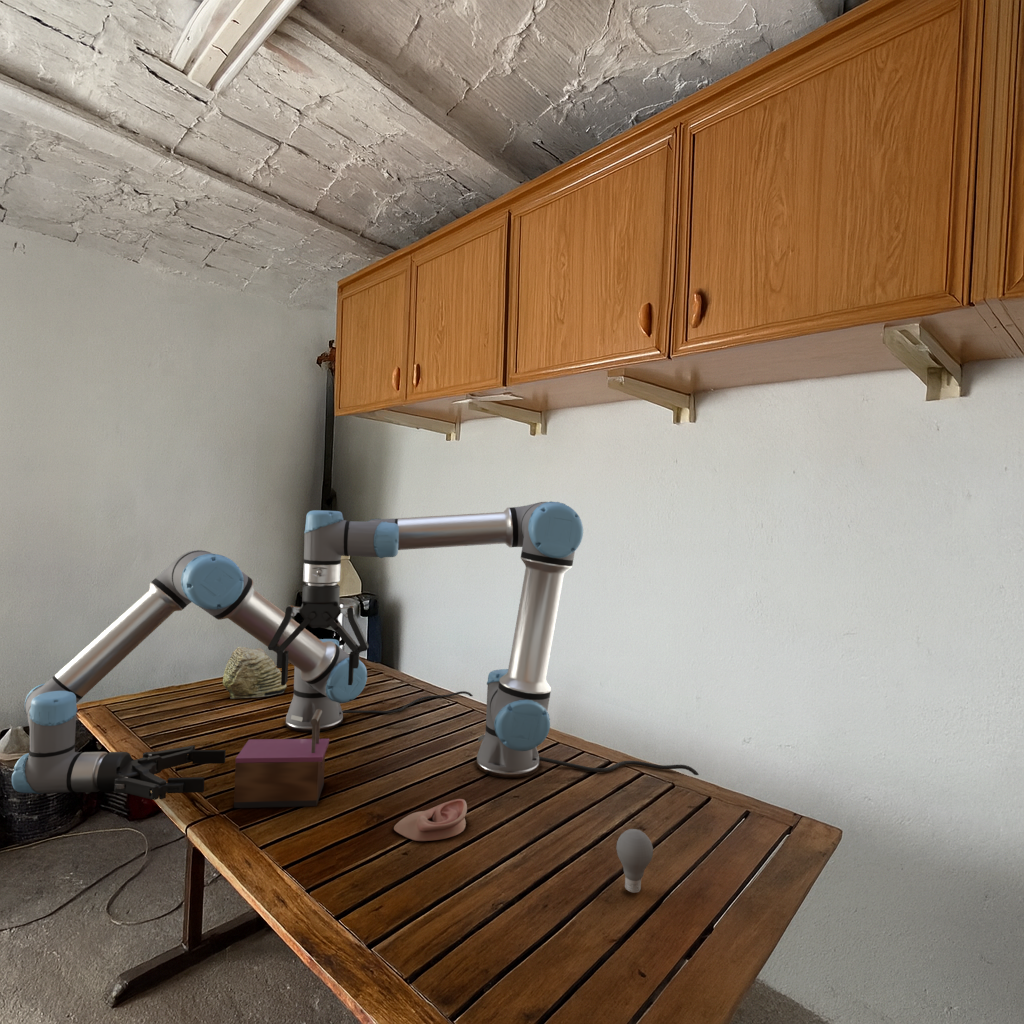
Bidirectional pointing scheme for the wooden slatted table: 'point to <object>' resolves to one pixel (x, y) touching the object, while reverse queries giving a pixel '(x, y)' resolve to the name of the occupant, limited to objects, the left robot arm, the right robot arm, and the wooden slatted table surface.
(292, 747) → the lid
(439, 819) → the anatomical model
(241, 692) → the fossil
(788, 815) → the wooden slatted table surface
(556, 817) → the wooden slatted table surface
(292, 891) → the wooden slatted table surface
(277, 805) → the chest
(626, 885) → the light bulb
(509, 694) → the right robot arm
